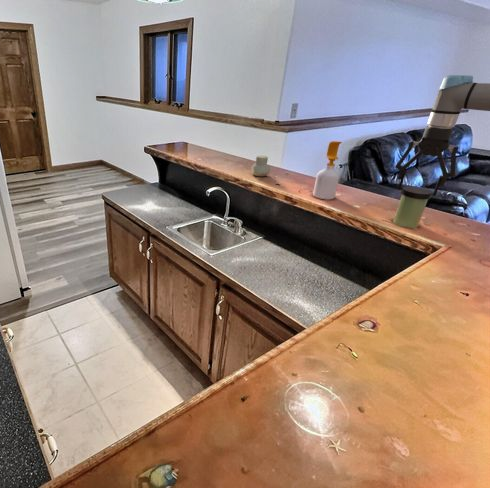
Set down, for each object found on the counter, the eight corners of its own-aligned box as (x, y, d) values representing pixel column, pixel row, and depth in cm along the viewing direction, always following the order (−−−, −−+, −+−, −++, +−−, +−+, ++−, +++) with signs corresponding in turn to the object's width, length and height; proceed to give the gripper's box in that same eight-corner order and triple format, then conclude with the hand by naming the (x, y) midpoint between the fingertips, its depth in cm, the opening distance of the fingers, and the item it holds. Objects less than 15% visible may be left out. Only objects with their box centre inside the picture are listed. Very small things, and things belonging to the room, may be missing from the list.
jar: (418, 223, 131) (430, 191, 126) (417, 229, 126) (429, 196, 120) (394, 217, 136) (405, 186, 130) (391, 224, 130) (402, 191, 124)
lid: (431, 194, 127) (433, 189, 126) (430, 201, 120) (432, 196, 119) (402, 189, 131) (403, 184, 131) (399, 195, 125) (401, 190, 124)
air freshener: (269, 178, 183) (272, 159, 178) (253, 177, 183) (256, 158, 179) (265, 172, 193) (267, 154, 188) (250, 172, 193) (252, 154, 188)
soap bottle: (314, 198, 154) (326, 142, 143) (311, 192, 162) (323, 138, 151) (335, 200, 153) (350, 143, 141) (332, 194, 160) (345, 139, 149)
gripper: (483, 129, 112) (455, 195, 122) (401, 122, 124) (382, 182, 134) (484, 132, 106) (455, 201, 116) (399, 124, 118) (379, 187, 128)
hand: (416, 191), depth 125 cm, fingers open, 10 cm apart
